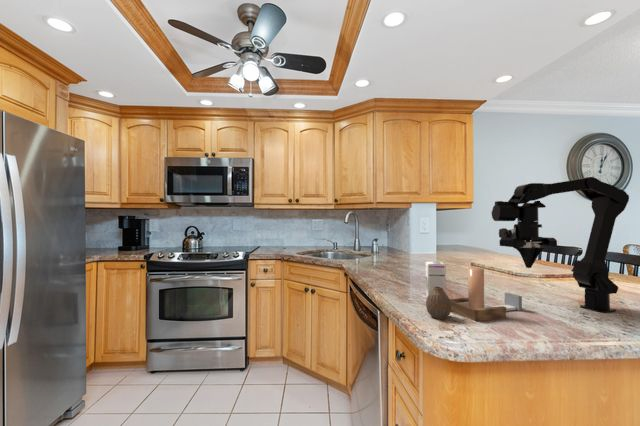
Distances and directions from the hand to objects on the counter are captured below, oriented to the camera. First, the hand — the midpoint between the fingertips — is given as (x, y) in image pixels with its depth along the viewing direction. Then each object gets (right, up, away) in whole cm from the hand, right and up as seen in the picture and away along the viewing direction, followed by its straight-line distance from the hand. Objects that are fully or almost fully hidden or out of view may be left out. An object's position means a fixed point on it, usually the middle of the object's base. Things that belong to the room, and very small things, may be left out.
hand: (528, 267), depth 95 cm
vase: (-35, -13, -11) cm, 38 cm away
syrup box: (-31, -13, +1) cm, 33 cm away
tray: (-16, -13, -5) cm, 21 cm away
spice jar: (-21, -12, -7) cm, 25 cm away
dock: (-21, -13, -7) cm, 26 cm away
